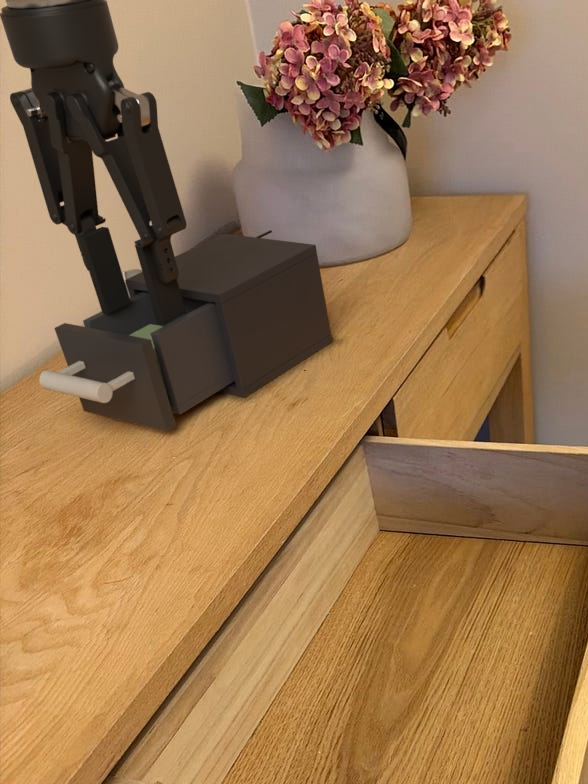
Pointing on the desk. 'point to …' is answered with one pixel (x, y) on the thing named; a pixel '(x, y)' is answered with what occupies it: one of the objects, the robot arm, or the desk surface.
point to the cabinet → (257, 303)
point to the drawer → (143, 362)
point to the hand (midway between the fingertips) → (143, 312)
